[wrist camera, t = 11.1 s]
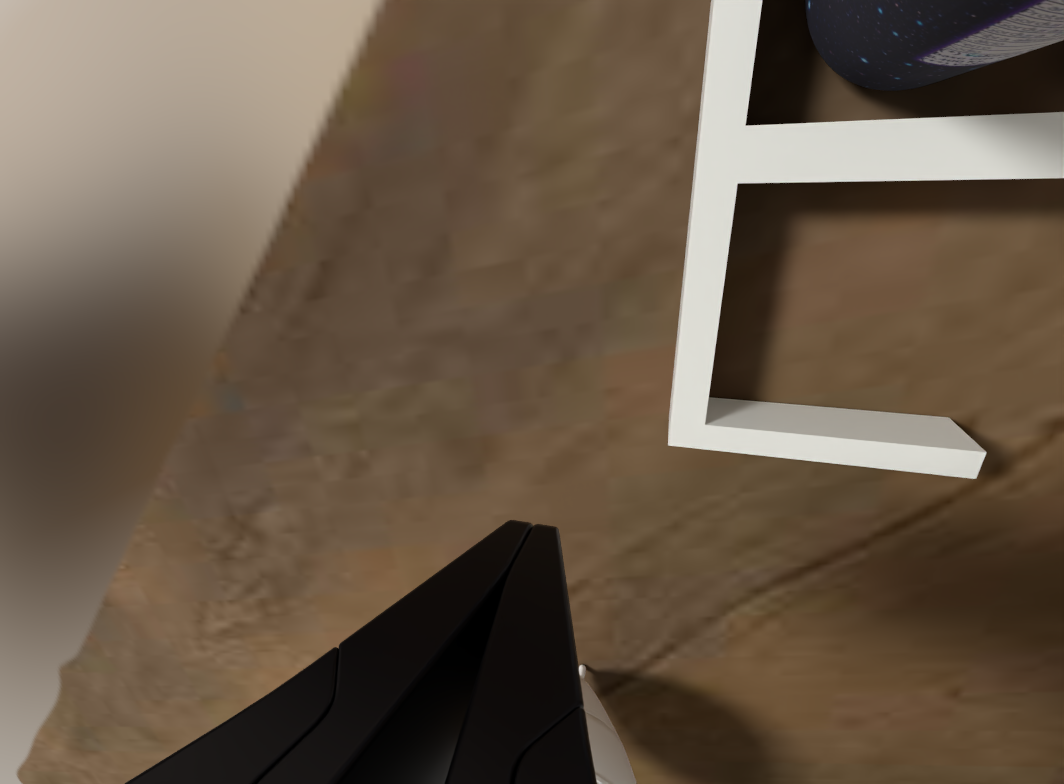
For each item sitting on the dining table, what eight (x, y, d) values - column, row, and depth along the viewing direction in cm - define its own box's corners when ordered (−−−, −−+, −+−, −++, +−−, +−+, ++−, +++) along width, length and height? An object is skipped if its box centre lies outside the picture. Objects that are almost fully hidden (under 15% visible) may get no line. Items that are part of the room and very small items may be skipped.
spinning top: (664, 716, 28) (656, 1048, 17) (539, 708, 31) (466, 992, 20) (635, 614, 26) (605, 928, 15) (501, 615, 28) (396, 882, 18)
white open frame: (1282, -382, 10) (1448, -532, 8) (965, 444, 18) (1005, 482, 16) (737, -260, 13) (749, -349, 11) (669, 415, 21) (667, 445, 18)
